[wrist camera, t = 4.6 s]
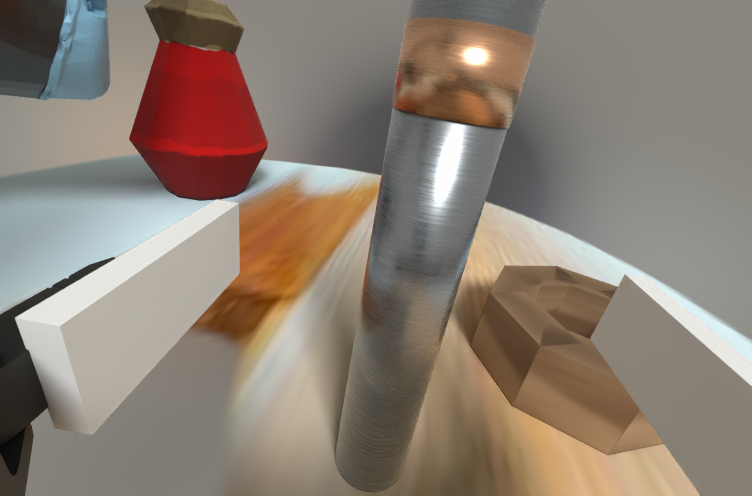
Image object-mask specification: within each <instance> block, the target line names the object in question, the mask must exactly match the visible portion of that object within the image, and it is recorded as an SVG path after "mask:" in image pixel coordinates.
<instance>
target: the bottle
mask: <svg viewBox="0 0 752 496" xmlns="http://www.w3.org/2000/svg"><path fill="white" fill-rule="evenodd" d="M144 7H145V9H146V11H147V13H148V15H149V18H150V20H151V22H152V24H153V26H154V28H155V31H156V33H157V35H158V37H159V39H160V41H159V44H158V48H157V51H156V55H155V57H154V61H153V64H152V67H151V70H150V73H149V77H148V80H147V83H146V87H145V89H144V93H143V96H142V99H141V102H140V106H139V109H138V112H137V115H136V118H135V122H134V125H133V128H132V132H131V134H130V138H129V139H130V141H131V142H132V144H133V145H134V146H135V148H136V149H137V150H138V152H139V153H140V154H141V156H142V157H143V158H144V160H145V161H146V162H147V164H148V165H149V166H150V168H151V169H152V170H153V172H154V173H155V174H156V176H157V177H158V178H159V180H160V181H161V182H162V184H163V185H164V186H165V188H166V189H167V190H168V191H169V192H171V193H172V194H174V195H176V196H178V197H181V198H187V199H194V200H200V201H201V200H216V199H224V198H228V197H233V196H237V195H238V194H240V193H242V192H243V191H244V190H245V188H246V187H247V185H248V183H249V181H250V179H251V177H252V175H253V173H254V172H255V170H256V168H257V166H258V164H259V162H260V160H261V158H262V157H263V155H264V152H265V151H266V149H267V144H268V142H267V139H266V136H265V133H264V131H263V128H262V125H261V123H260V120H259V117H258V114H257V112H256V109H255V106H254V103H253V101H252V98H251V96H250V93H249V90H248V87H247V84H246V82H245V79H244V76H243V73H242V71H241V68H240V65H239V63H238V60H237V57H236V54H235V52H236V50H237V47H238V44H239V42H240V39H241V36H242V33H243V31H244V28H243V27H242V25H241V24H240V23H239V22H238V20H237V19H236V18H235V16H234V15H233V14H232V12H231V11H230V10H229V8H228V7H227V6H226V5H224V4H221V3H219V2H216V1H213V0H151V1H150V2H149V3H148V4H146V5H145V6H144Z"/></svg>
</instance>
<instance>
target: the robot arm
mask: <svg viewBox="0 0 752 496" xmlns="http://www.w3.org/2000/svg"><path fill="white" fill-rule="evenodd" d="M107 16H108V15H107V0H0V95H9V96H18V97H28V98H37V99H39V100H48V99H50V98H58V99H80V100H91V99H96V98H98V97H100V96H102V95H103V94H105V93H106V91H107V90H108V88H109V85H110V63H109V39H108V17H107ZM239 273H240V263H239V203H234V202H229V201H223V200H218V199H216V200H214V201H213V202H211V203H209V204H208V205H206V206H204V207H203V208H201V209H199V210H197V211H196V212H194V213H192V214H191V215H189V216H187V217H185V218H184V219H182V220H180V221H179V222H177V223H175V224H174V225H172V226H170V227H168V228H167V229H165V230H163V231H162V232H160V233H158V234H157V235H155V236H153V237H151V238H150V239H148V240H146V241H145V242H143V243H141V244H139V245H138V246H136V247H134V248H133V249H131V250H129V251H128V252H126V253H124V254H122V255H121V256H119V257H117V258H114V257H112V258H109V259H106V260H103V261H100V262H97V263H94V264H91V265H88V266H86V267H84V268H83V269H81V270H79V271H77V272H76V273H74V274H72V275H70V276H69V278H68V279H66V278H65V279H63V280H61V281H59V282H58V283H56V284H54V285H52V288H47V289H45V290H43V291H41V292H40V293H38V294H36V295H34V296H33V297H31V298H29V299H27V300H25V301H24V302H22V303H20V304H18V305H16V306H15V307H13V308H11V309H9V310H7V311H6V312H4V313H2V314H0V496H25V491H26V484H27V477H28V470H29V464H30V457H31V450H32V443H33V430H32V426H31V424H30V423H31V422H32V421H33V420H34V419H35V418H36V417H38V416H39V415H40V414H41V413H42V412H43V411H44V410H45V409H46V408H48V411H49V413H50V416H51V419H52V422H53V425H54V427H55V428H56V429H62V430H67V431H73V432H77V433H82V434H88V435H93V434H94V433H95V431H96V430H97V429H98V428H99V427H100V426H101V425H102V424H103V423H104V422H105V421H106V419H107V418H108V417H109V416H110V415H111V414H112V413H113V412H114V411H115V410H116V408H117V407H118V406H119V405H120V404H121V403H122V402H123V401H124V400H125V398H127V396H128V395H129V394H130V393H131V392H132V391H133V390H134V389H135V388H136V387H137V385H138V384H139V383H140V382H141V381H142V380H143V379H144V378H145V377H146V376H147V374H148V373H149V372H150V371H151V370H152V369H153V368H154V367H155V366H156V365H157V363H158V362H159V361H160V360H161V359H162V358H163V357H164V356H165V355H166V354H167V353H168V351H169V350H170V349H171V348H172V347H173V346H174V345H175V344H176V343H177V342H178V340H179V339H180V338H181V337H182V336H183V335H184V334H185V333H186V332H187V331H188V329H189V328H190V327H191V326H192V325H193V324H194V323H195V322H196V321H197V320H198V318H199V317H200V316H201V315H202V314H203V313H204V312H205V311H206V310H207V309H208V308H209V306H210V305H211V304H212V303H213V302H214V301H215V300H216V299H217V298H218V297H219V295H220V294H221V293H222V292H223V291H224V290H225V289H226V288H227V287H228V286H229V284H230V283H231V282H232V281H233V280H234V279H235V278H236V277H237V276H238V275H239ZM590 339H591V341H592V342H593V344H594V345H595V347H596V348H597V349H598V351H599V352H600V354H601V355H602V356H603V358H604V359H605V361H606V362H607V364H608V365H609V366H610V368H611V369H612V371H613V372H614V374H615V375H616V376H617V378H618V379H619V381H620V382H621V383H622V385H623V386H624V388H625V389H626V391H627V392H628V393H629V395H630V396H631V398H632V399H633V400H634V402H635V403H636V405H637V406H638V408H639V409H640V410H641V412H642V413H643V415H644V416H645V417H646V419H647V420H648V422H649V423H650V425H651V426H652V427H653V429H654V430H655V432H656V433H657V434H658V436H659V437H660V439H661V440H662V442H663V443H664V444H665V446H666V447H667V449H668V450H669V452H670V453H671V454H672V456H673V457H674V459H675V460H676V461H677V463H678V464H679V466H680V467H681V469H682V470H683V471H684V473H685V474H686V476H687V477H688V478H689V480H690V481H691V483H692V484H693V486H694V487H695V488H696V490H697V491H698V493H699V494H700V495H701V496H752V363H751V362H750V361H748V360H747V359H746V358H745V357H744V356H742V355H741V354H740V353H739V352H737V351H736V350H735V349H734V348H732V347H731V346H730V345H729V344H728V343H726V342H725V341H724V340H723V339H721V338H720V337H719V336H718V335H717V334H715V333H714V332H713V331H712V330H710V329H709V328H708V327H707V326H706V325H704V324H703V323H702V322H701V321H699V320H698V319H697V318H696V317H695V316H693V315H692V314H691V313H690V312H688V311H687V310H686V309H685V308H684V307H682V306H681V305H680V304H679V303H677V302H676V301H675V300H674V299H672V298H671V297H670V296H669V295H668V294H666V293H665V292H664V291H663V290H661V289H660V288H659V287H658V286H657V285H655V284H654V283H653V282H652V281H650V280H649V279H648V278H643V277H637V276H632V275H626V274H625V275H624V277H623V279H622V281H621V282H620V284H619V286H618V288H617V290H616V292H615V293H614V295H613V297H612V299H611V301H610V303H609V304H608V306H607V308H606V310H605V312H604V314H603V315H602V317H601V319H600V321H599V323H598V325H597V326H596V328H595V330H594V332H593V334H592V336H591V338H590Z"/></svg>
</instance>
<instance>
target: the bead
mask: <svg viewBox="0 0 752 496" xmlns="http://www.w3.org/2000/svg"><path fill="white" fill-rule="evenodd" d="M617 288H618V287H616V286H613V285H611V284H608V283H605V282H602V281H599V280H596V279H593V278H590V277H587V276H584V275H581V274H578V273H575V272H572V271H569V270H567V269H564V268H561V267H558V266H504V268H503V270H502V271H501V273H500V275H499V277H498V279H497V280H496V282H495V284H494V286H493V288H492V289H491V291H490V293H489V296H488V298H487V301H486V304H485V307H484V310H483V312H482V315H481V318H480V321H479V324H478V326H477V329H476V332H475V335H474V338H473V340H472V343H471V347H472V349H473V350H474V351H475V353H476V354H477V356H478V357H479V359H480V360H481V362H482V363H483V364H484V366H485V367H486V369H487V370H488V372H489V373H490V374H491V376H492V377H493V379H494V380H495V382H496V383H497V384H498V386H499V387H500V389H501V390H502V392H503V393H504V394H505V396H506V397H507V399H508V400H509V402H510V403H511V405H512V406H514V407H516V408H518V409H520V410H521V411H523V412H525V413H527V414H529V415H531V416H533V417H535V418H537V419H539V420H541V421H543V422H545V423H547V424H549V425H551V426H553V427H555V428H557V429H558V430H560V431H562V432H564V433H566V434H568V435H570V436H572V437H574V438H576V439H578V440H580V441H582V442H584V443H586V444H588V445H590V446H592V447H594V448H595V449H597V450H599V451H601V452H603V453H605V454H607V455H611V454H616V453H621V452H626V451H630V450H635V449H640V448H645V447H650V446H655V445H660V444H664V443H663V442H662V440H661V439H660V437H659V436H658V434H657V433H656V432H655V430H654V429H653V427H652V426H651V425H650V423H649V422H648V420H647V419H646V417H645V416H644V415H643V413H642V412H641V410H640V409H639V408H638V406H637V405H636V403H635V402H634V400H633V399H632V398H631V396H630V395H629V393H628V392H627V391H626V389H625V388H624V386H623V385H622V383H621V382H620V381H619V379H618V378H617V376H616V375H615V374H614V372H613V371H612V369H611V368H610V366H609V365H608V364H607V362H606V361H605V359H604V358H603V356H602V355H601V354H600V352H599V351H598V349H597V348H596V347H595V345H594V344H593V342H592V341H591V339H590V338H591V336H592V334H593V332H594V330H595V328H596V326H597V325H598V323H599V321H600V319H601V317H602V315H603V314H604V312H605V310H606V308H607V306H608V304H609V303H610V301H611V299H612V297H613V295H614V293H615V292H616V290H617Z"/></svg>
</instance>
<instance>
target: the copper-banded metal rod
mask: <svg viewBox="0 0 752 496" xmlns="http://www.w3.org/2000/svg"><path fill="white" fill-rule="evenodd" d="M546 2H547V0H411V2H410V9H409V15H408V20H406V21H405V26H404V32H403V38H402V44H401V50H400V57H399V63H398V69H397V75H396V81H395V87H394V93H393V99H392V107H393V110H392V116H391V122H390V128H389V134H388V140H387V146H386V152H385V158H384V164H383V170H382V176H381V182H380V188H379V194H378V200H377V206H376V212H375V218H374V224H373V230H372V236H371V242H370V248H369V254H368V259H367V265H366V271H365V277H364V283H363V289H362V295H361V301H360V307H359V313H358V319H357V325H356V331H355V337H354V343H353V349H352V355H351V361H350V367H349V373H348V379H347V385H346V391H345V397H344V403H343V409H342V415H341V421H340V427H339V433H338V439H337V445H336V451H335V459H336V465H337V467H338V470H339V472H340V474H341V475H342V477H343V478H344V479H345V480H346V481H347V482H348V483H349V484H350V485H352V486H353V487H355V488H357V489H359V490H362V491H367V492H377V491H382V490H385V489H387V488H389V487H390V486H392V485H393V484H394V483H395V482H396V481H397V480H398V478H399V476H400V474H401V472H402V469H403V466H404V463H405V459H406V456H407V453H408V450H409V446H410V443H411V440H412V437H413V433H414V430H415V427H416V424H417V420H418V417H419V414H420V411H421V407H422V404H423V401H424V398H425V394H426V391H427V388H428V385H429V381H430V378H431V375H432V372H433V368H434V365H435V362H436V359H437V355H438V352H439V349H440V346H441V342H442V339H443V336H444V333H445V329H446V326H447V323H448V320H449V316H450V313H451V310H452V307H453V303H454V300H455V297H456V294H457V291H458V287H459V284H460V281H461V278H462V274H463V271H464V268H465V265H466V261H467V258H468V255H469V252H470V248H471V245H472V242H473V239H474V235H475V232H476V229H477V226H478V222H479V219H480V216H481V213H482V209H483V206H484V203H485V200H486V196H487V193H488V190H489V186H490V183H491V180H492V177H493V173H494V170H495V167H496V164H497V161H498V157H499V154H500V151H501V147H502V144H503V141H504V138H505V135H506V131H507V128H510V125H511V122H512V119H513V115H514V112H515V109H516V106H517V103H518V99H519V96H520V93H521V90H522V86H523V83H524V80H525V77H526V74H527V70H528V67H529V64H530V61H531V57H532V54H533V51H534V47H535V45H536V40H535V37H536V34H537V31H538V28H539V24H540V21H541V18H542V15H543V11H544V8H545V5H546Z"/></svg>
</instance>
